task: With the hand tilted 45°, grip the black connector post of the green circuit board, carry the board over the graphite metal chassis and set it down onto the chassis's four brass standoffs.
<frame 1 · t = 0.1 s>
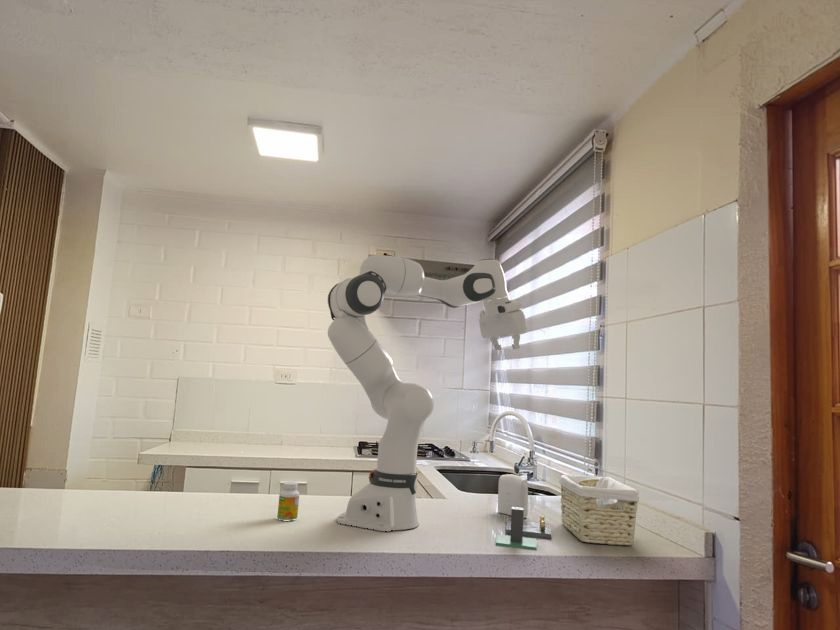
hand: (507, 349, 174), 52 cm above the counter, tool tilted 20°, fingers open, 8 cm apart
chassis: (528, 530, 151), on the counter
circuit board: (516, 543, 138), on the counter
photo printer: (512, 515, 169), on the counter
supplement bottle: (287, 520, 148), on the counter
storage basket: (595, 535, 152), on the counter
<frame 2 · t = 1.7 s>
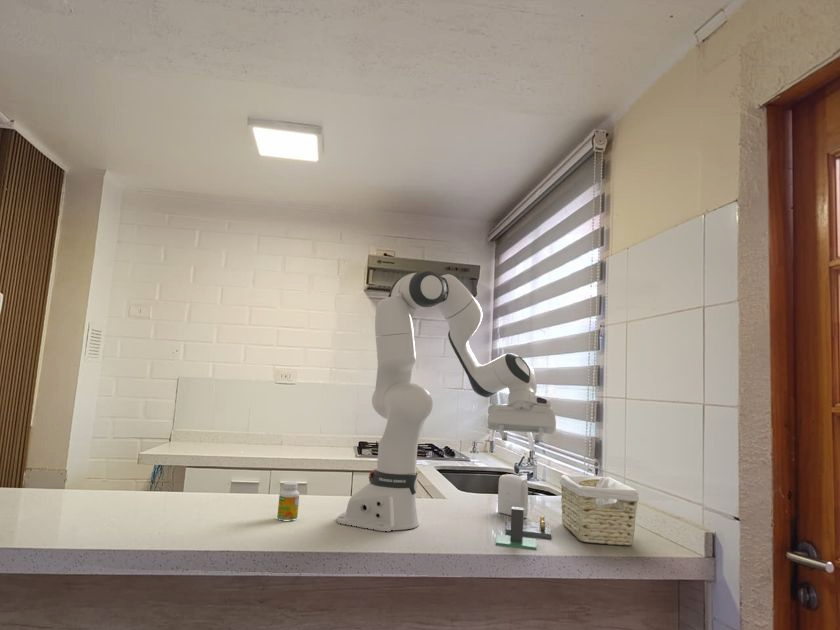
hand: (520, 440, 157), 24 cm above the counter, tool tilted 45°, fingers open, 8 cm apart
nothing on the counter moved.
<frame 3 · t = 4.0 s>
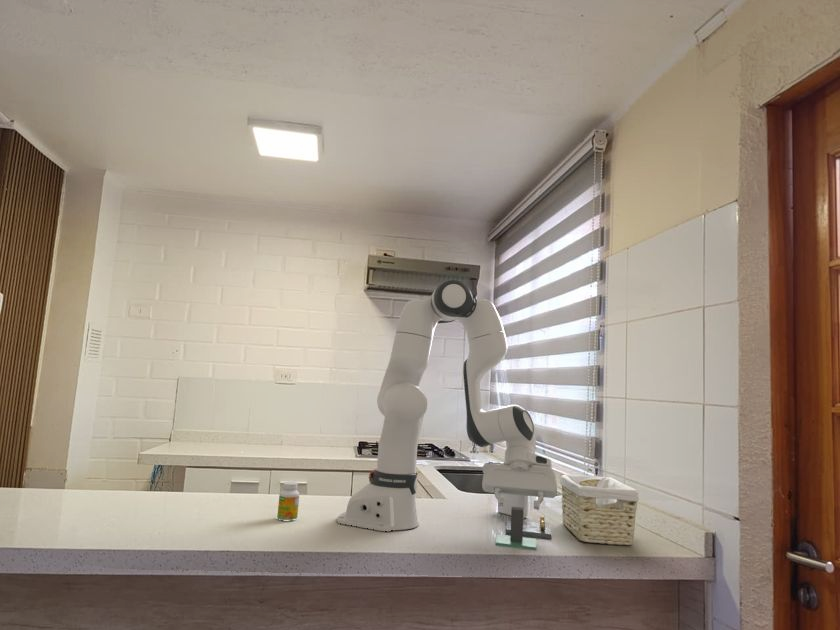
hand: (518, 506, 143), 8 cm above the counter, tool tilted 45°, fingers open, 8 cm apart
nothing on the counter moved.
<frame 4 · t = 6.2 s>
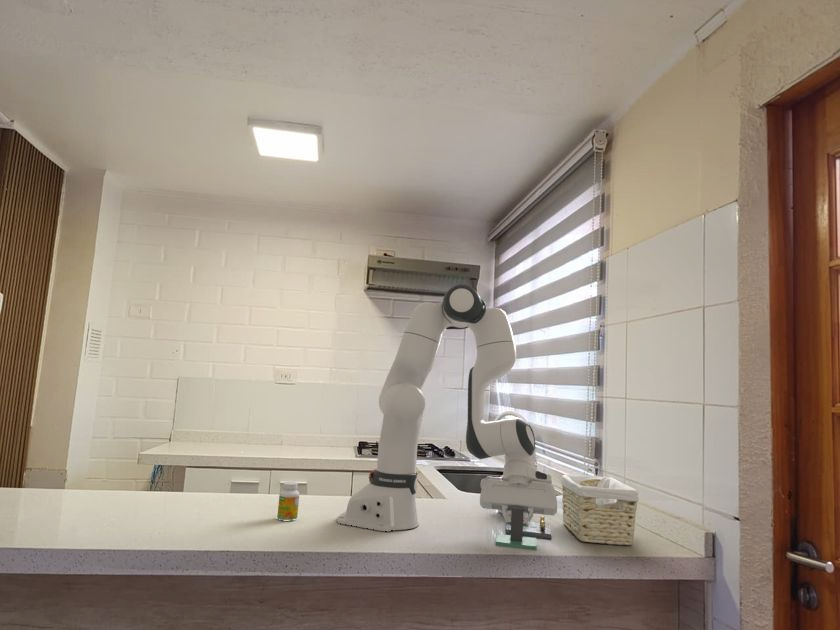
hand: (517, 524, 138), 5 cm above the counter, tool tilted 45°, fingers closed on circuit board, 3 cm apart
circuit board: (516, 543, 138), on the counter, touching gripper
everything else where it was.
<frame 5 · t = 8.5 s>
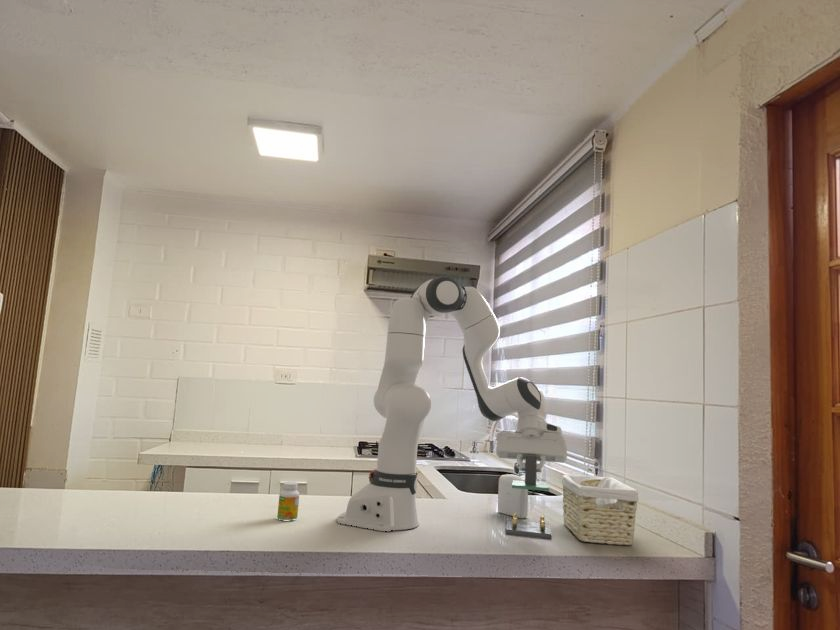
hand: (530, 470, 152), 17 cm above the counter, tool tilted 45°, fingers closed on circuit board, 3 cm apart
circuit board: (530, 487, 152), point 12 cm above the counter, touching gripper
everything else where it was.
when the fingers open (10 cm above the counter, at t = 10.8 s): circuit board drops 1 cm, resting on chassis.
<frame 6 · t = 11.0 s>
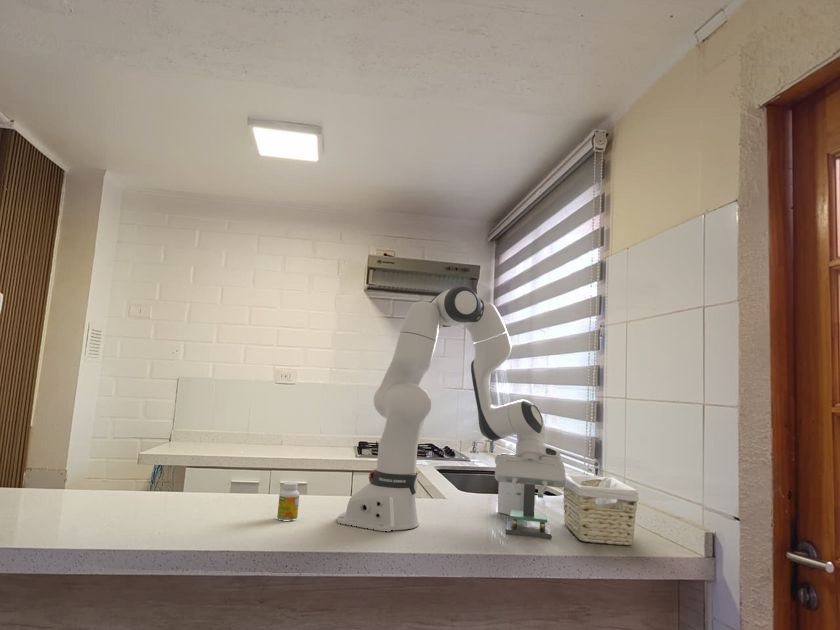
hand: (529, 495, 152), 10 cm above the counter, tool tilted 45°, fingers open, 5 cm apart
circuit board: (528, 517, 151), point 4 cm above the counter, touching chassis
everything else where it was.
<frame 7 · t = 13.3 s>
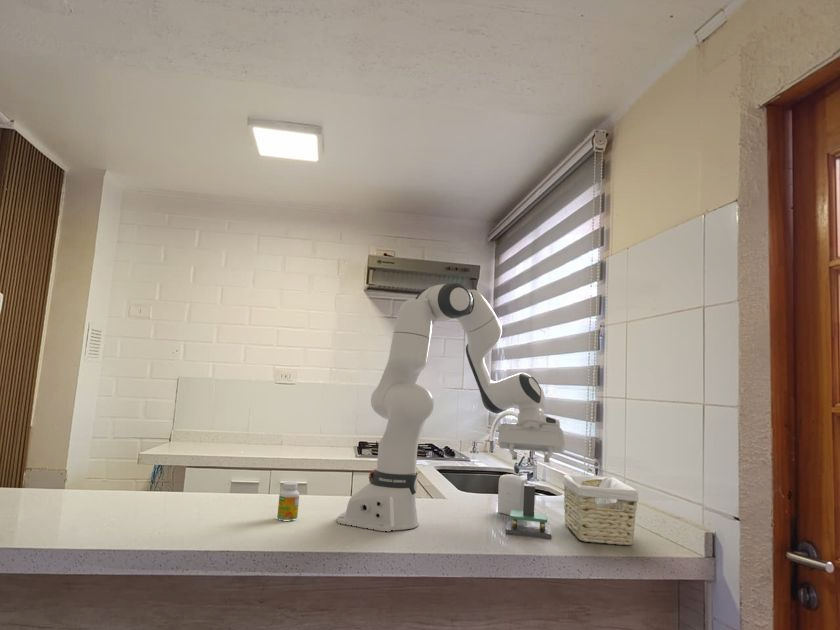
hand: (530, 459, 161), 19 cm above the counter, tool tilted 45°, fingers open, 8 cm apart
nothing on the counter moved.
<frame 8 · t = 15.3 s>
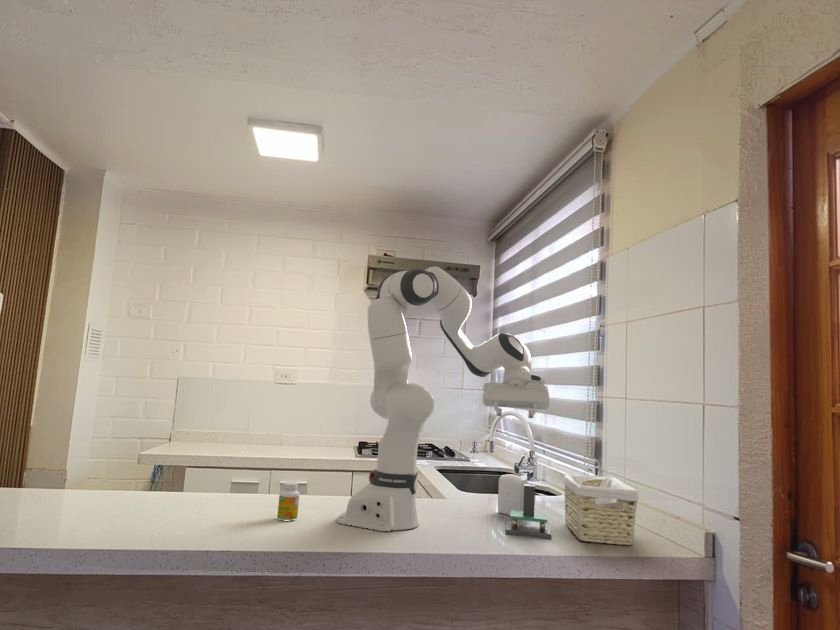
hand: (514, 415, 160), 31 cm above the counter, tool tilted 45°, fingers open, 8 cm apart
nothing on the counter moved.
at the end: circuit board 0.1 cm off-centre on the chassis, point 3.6 cm above the chassis's base; circuit board tilted 0°; the gripper is holding nothing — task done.
